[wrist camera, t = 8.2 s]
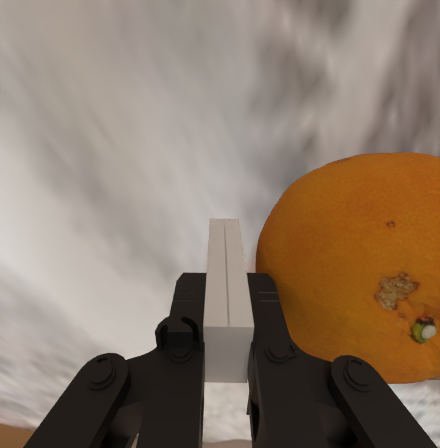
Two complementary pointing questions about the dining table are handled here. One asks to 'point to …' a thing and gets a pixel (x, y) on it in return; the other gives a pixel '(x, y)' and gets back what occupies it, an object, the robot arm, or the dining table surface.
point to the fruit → (361, 262)
